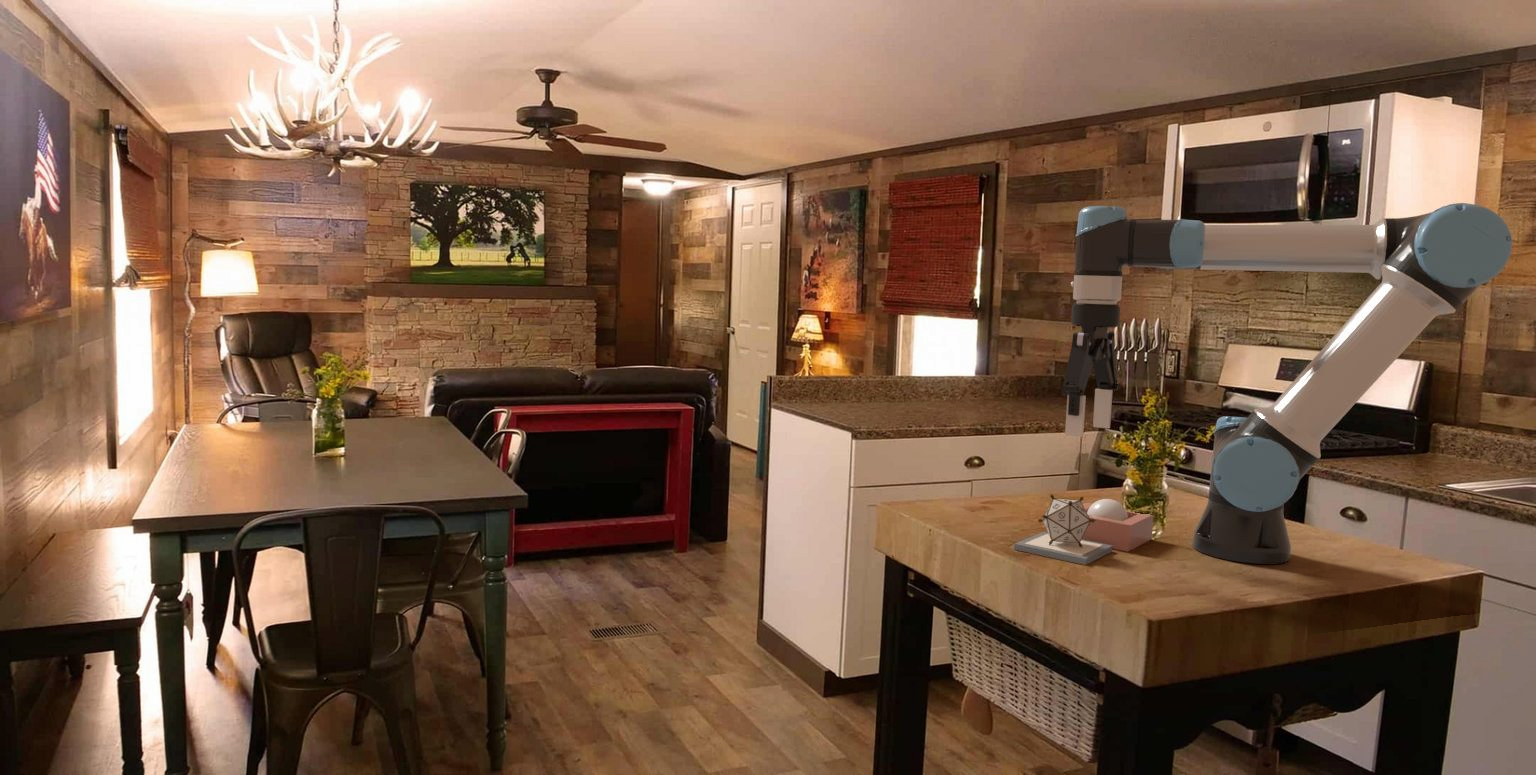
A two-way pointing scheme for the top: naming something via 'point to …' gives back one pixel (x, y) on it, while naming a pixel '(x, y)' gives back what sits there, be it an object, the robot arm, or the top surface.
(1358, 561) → the top surface
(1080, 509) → the game die
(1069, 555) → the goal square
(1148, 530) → the pink open box
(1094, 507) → the white ball
